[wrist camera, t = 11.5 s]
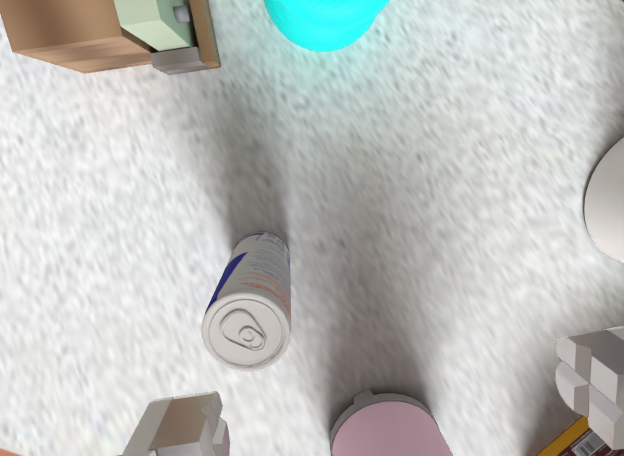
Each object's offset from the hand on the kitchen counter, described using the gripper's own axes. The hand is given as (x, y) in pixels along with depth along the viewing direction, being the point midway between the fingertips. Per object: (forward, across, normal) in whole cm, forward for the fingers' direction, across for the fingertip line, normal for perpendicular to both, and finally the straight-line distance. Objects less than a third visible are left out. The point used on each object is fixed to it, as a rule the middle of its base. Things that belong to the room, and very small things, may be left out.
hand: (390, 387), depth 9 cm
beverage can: (+29, +6, +5) cm, 30 cm away
